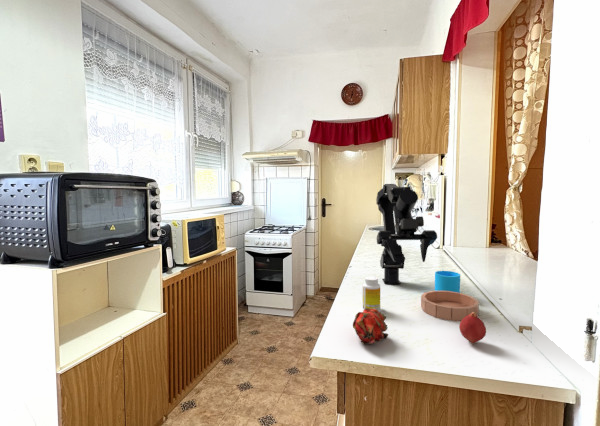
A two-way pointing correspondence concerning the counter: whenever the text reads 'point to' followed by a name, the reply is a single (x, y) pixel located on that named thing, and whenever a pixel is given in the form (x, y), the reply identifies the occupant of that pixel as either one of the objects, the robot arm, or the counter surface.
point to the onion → (472, 328)
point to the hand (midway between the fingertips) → (409, 261)
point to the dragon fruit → (370, 325)
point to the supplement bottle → (371, 293)
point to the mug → (447, 281)
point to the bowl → (449, 305)
